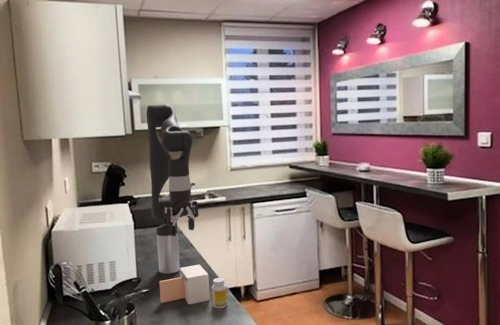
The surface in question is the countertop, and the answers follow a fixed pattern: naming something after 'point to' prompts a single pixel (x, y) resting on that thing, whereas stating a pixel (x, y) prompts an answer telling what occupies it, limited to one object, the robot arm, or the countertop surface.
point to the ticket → (172, 289)
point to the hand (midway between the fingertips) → (182, 232)
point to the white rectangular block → (195, 284)
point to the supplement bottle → (219, 293)
